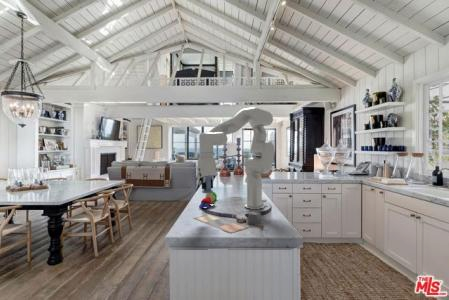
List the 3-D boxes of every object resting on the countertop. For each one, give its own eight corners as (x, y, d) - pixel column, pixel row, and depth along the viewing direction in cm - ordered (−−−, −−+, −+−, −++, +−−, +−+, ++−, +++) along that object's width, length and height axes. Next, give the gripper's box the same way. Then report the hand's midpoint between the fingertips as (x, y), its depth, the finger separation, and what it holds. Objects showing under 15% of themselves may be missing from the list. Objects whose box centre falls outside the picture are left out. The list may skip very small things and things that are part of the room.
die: (252, 220, 146) (251, 211, 145) (260, 222, 143) (260, 212, 143) (248, 223, 141) (247, 213, 141) (257, 224, 139) (256, 214, 138)
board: (209, 214, 158) (209, 214, 158) (249, 227, 134) (249, 227, 134) (192, 218, 151) (192, 218, 151) (230, 233, 126) (230, 233, 126)
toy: (211, 214, 171) (220, 198, 183) (207, 204, 168) (217, 188, 179) (199, 212, 175) (209, 196, 186) (195, 203, 171) (206, 188, 183)
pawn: (208, 190, 153) (208, 171, 153) (214, 192, 149) (214, 172, 149) (200, 192, 150) (199, 172, 149) (206, 193, 146) (205, 173, 145)
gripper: (214, 154, 157) (215, 185, 158) (189, 156, 146) (190, 190, 147) (222, 154, 151) (223, 187, 152) (197, 156, 140) (198, 192, 141)
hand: (207, 188), depth 149 cm, fingers closed on pawn, 4 cm apart
